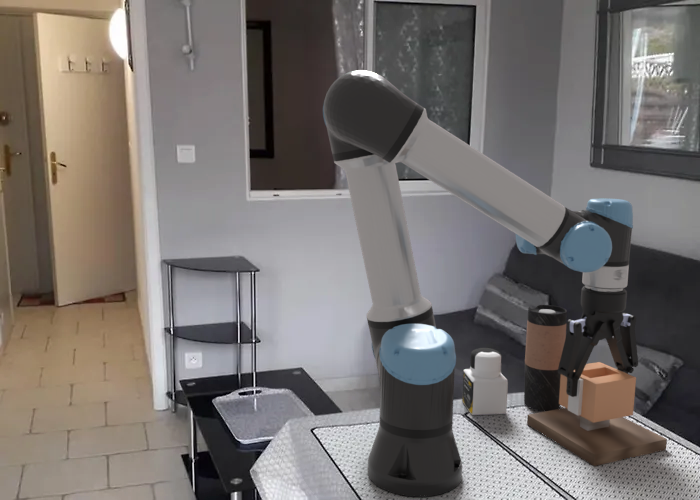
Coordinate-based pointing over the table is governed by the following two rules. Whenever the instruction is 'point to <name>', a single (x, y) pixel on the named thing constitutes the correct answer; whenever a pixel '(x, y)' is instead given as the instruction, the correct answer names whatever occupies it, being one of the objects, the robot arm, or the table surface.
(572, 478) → the table surface
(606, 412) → the tan cube with window
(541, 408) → the travel mug
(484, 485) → the table surface
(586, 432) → the stand
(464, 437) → the table surface
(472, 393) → the medicine bottle
